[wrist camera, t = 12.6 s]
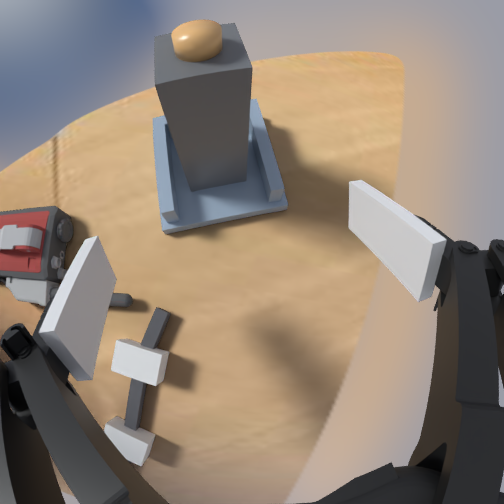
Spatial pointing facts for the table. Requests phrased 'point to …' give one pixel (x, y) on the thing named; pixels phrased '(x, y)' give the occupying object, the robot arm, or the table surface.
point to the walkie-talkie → (37, 254)
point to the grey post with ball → (206, 100)
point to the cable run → (138, 387)
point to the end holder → (222, 197)
